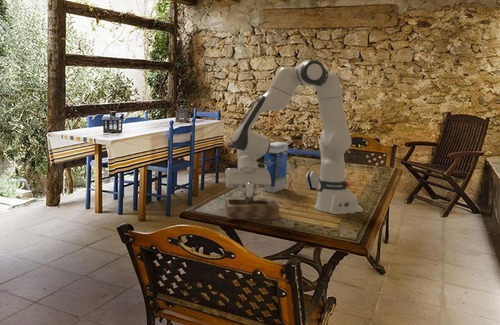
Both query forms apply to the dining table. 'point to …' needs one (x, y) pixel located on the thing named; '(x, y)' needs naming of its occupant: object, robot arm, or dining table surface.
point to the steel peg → (249, 193)
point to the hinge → (312, 179)
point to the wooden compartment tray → (251, 208)
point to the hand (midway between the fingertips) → (249, 195)
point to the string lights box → (277, 166)
